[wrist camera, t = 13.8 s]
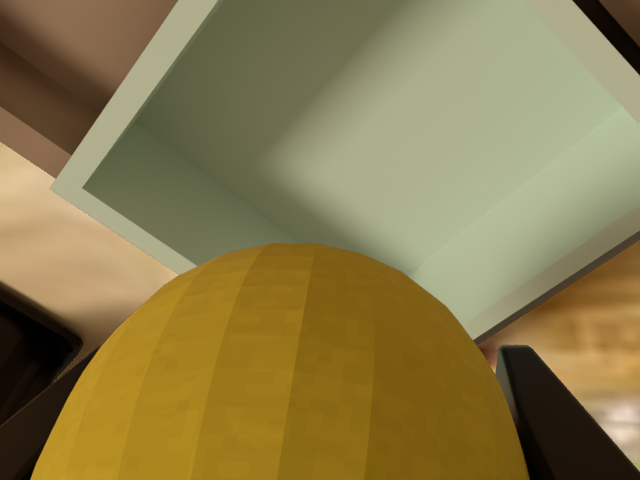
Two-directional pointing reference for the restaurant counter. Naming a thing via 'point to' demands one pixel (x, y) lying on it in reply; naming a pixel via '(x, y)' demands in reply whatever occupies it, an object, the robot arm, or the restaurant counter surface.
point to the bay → (123, 52)
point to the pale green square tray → (375, 141)
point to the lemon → (287, 381)
